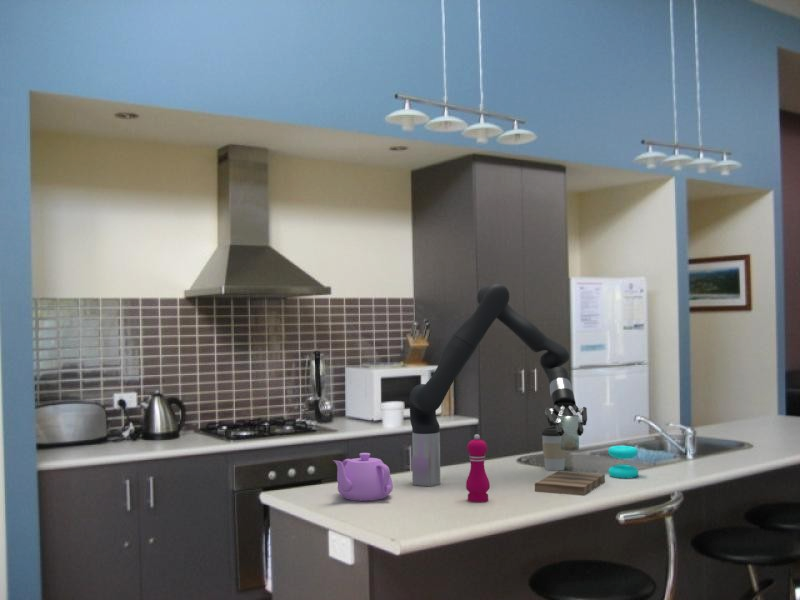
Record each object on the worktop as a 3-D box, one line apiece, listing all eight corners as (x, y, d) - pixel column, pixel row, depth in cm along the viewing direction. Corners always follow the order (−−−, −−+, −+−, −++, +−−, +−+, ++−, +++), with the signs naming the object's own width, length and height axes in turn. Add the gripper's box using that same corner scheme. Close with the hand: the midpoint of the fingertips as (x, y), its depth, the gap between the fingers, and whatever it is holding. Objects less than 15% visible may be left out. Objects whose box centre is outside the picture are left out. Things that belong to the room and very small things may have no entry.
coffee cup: (567, 471, 308) (566, 429, 308) (541, 471, 309) (540, 429, 310) (567, 467, 317) (566, 426, 317) (542, 466, 318) (541, 426, 319)
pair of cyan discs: (637, 445, 301) (638, 449, 291) (637, 474, 301) (639, 479, 291) (607, 444, 303) (608, 449, 294) (608, 473, 303) (608, 478, 293)
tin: (575, 451, 277) (575, 416, 277) (557, 450, 280) (557, 416, 280) (581, 448, 282) (580, 414, 282) (563, 447, 285) (563, 414, 285)
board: (584, 495, 266) (583, 487, 266) (534, 491, 274) (534, 483, 274) (604, 481, 287) (604, 474, 287) (558, 478, 295) (558, 471, 295)
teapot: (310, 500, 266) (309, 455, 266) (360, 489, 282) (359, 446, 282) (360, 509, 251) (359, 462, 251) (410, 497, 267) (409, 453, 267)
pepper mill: (474, 496, 266) (473, 432, 267) (494, 499, 262) (493, 433, 262) (461, 500, 261) (460, 434, 261) (481, 503, 256) (480, 436, 257)
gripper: (542, 387, 288) (550, 427, 276) (584, 386, 289) (594, 426, 277) (539, 401, 294) (547, 441, 282) (581, 401, 294) (590, 441, 282)
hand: (570, 434), depth 279 cm, fingers closed on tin, 6 cm apart
